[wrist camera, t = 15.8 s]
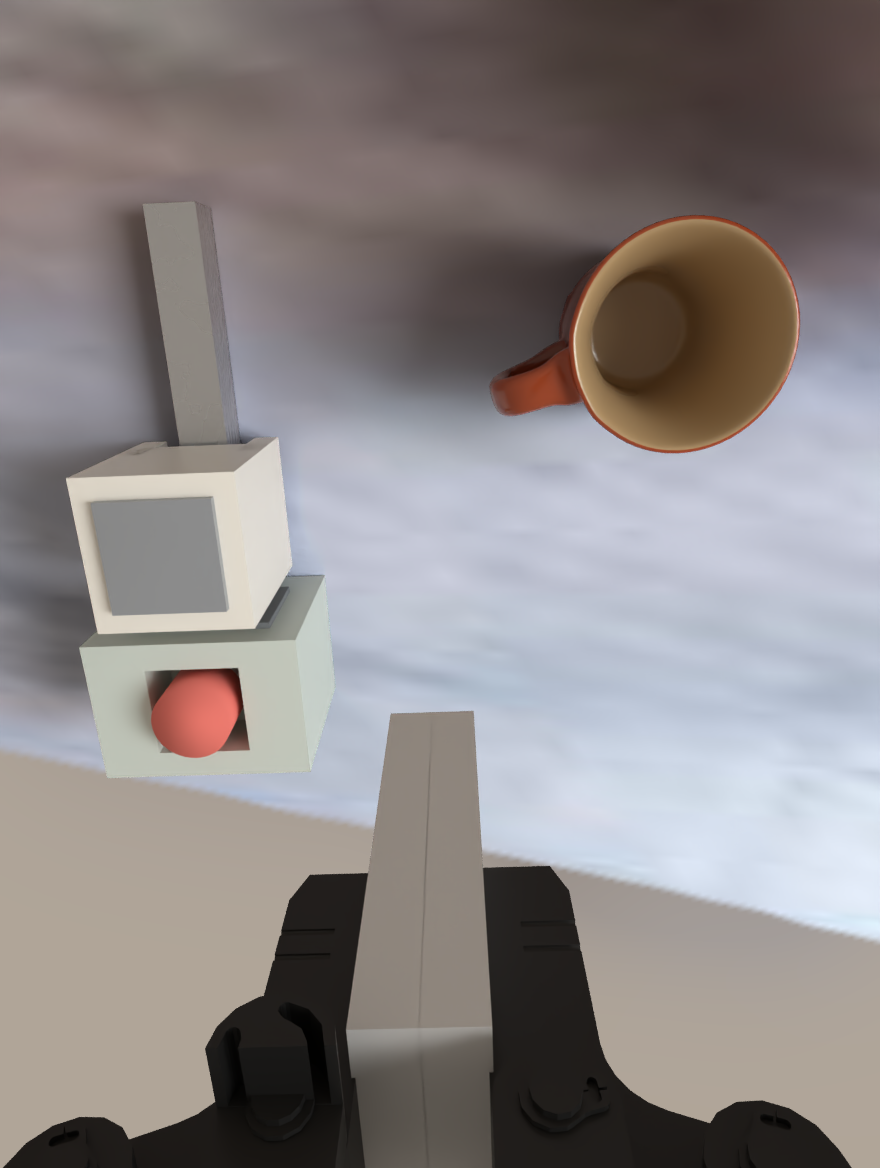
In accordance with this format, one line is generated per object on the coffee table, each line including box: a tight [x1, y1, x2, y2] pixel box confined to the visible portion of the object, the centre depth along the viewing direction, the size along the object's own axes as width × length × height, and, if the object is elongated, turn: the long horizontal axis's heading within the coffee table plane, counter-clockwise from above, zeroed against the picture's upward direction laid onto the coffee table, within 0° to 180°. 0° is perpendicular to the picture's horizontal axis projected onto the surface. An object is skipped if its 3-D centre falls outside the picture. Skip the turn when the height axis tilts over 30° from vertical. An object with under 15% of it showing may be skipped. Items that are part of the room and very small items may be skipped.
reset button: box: [151, 668, 244, 758], centre depth 38 cm, size 4×4×3 cm
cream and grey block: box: [66, 437, 292, 634], centre depth 38 cm, size 7×7×9 cm
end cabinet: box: [79, 575, 336, 778], centre depth 41 cm, size 7×10×9 cm
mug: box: [489, 215, 800, 453], centre depth 35 cm, size 12×9×10 cm
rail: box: [143, 202, 241, 446], centre depth 40 cm, size 20×2×2 cm, turn 2°
